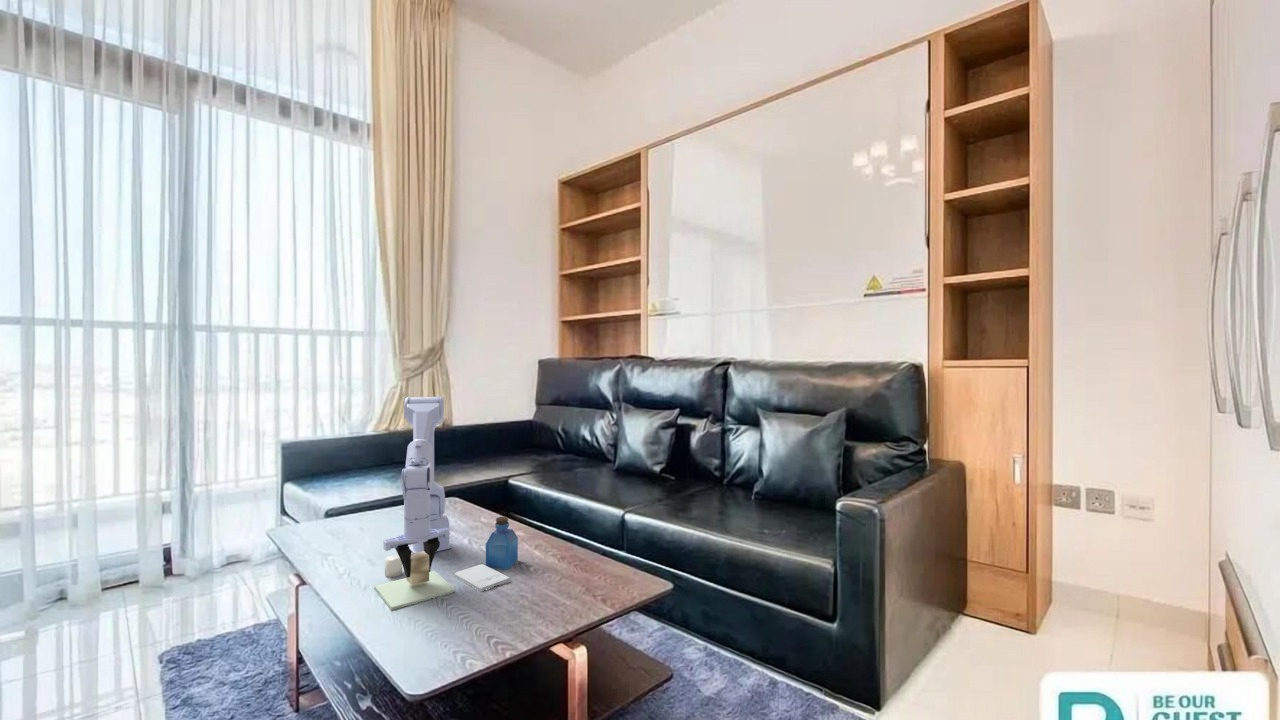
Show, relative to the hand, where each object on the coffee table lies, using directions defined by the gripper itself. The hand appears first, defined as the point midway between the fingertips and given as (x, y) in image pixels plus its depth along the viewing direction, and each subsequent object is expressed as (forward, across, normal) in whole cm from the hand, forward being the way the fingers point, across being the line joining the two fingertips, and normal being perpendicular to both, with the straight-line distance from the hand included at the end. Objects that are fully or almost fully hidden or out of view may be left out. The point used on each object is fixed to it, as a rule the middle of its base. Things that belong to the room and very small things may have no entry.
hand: (417, 573), depth 129 cm
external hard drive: (+4, +14, -5) cm, 15 cm away
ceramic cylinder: (+3, -2, +12) cm, 13 cm away
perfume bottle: (+4, +22, +1) cm, 22 cm away
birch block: (+2, 0, 0) cm, 2 cm away
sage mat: (+3, -1, -1) cm, 4 cm away
